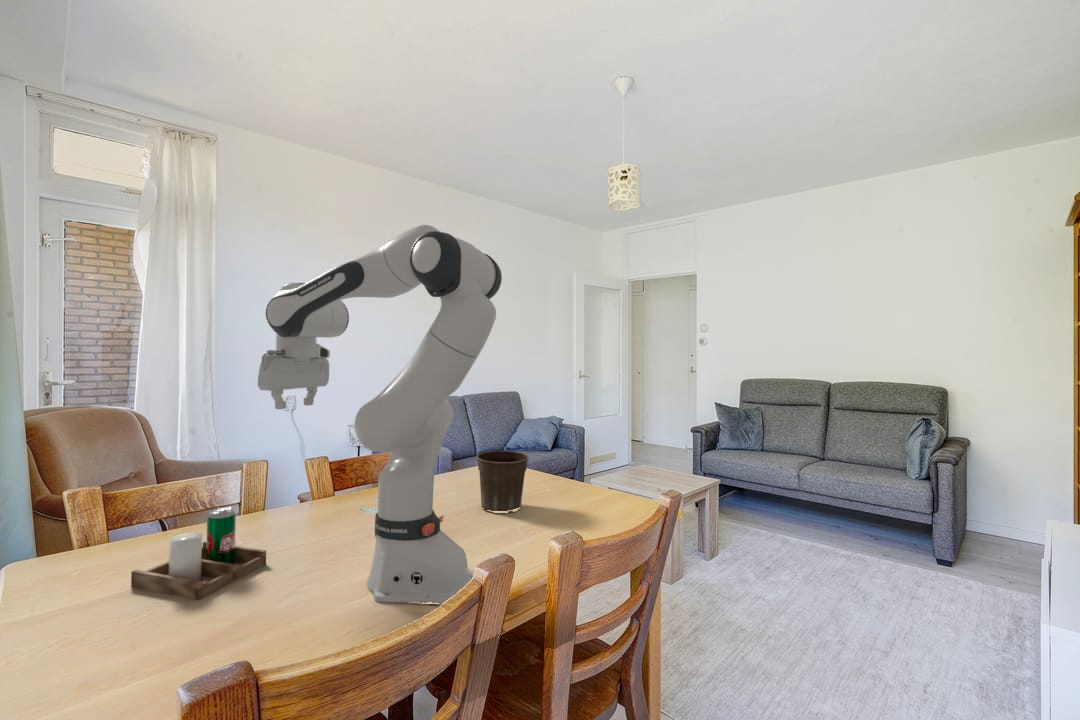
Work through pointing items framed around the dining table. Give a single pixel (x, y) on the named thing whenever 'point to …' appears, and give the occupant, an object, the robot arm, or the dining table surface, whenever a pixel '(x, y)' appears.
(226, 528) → the soda can
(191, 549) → the white rounded cylinder
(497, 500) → the plant pot
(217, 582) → the divided compartment tray
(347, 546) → the dining table surface
